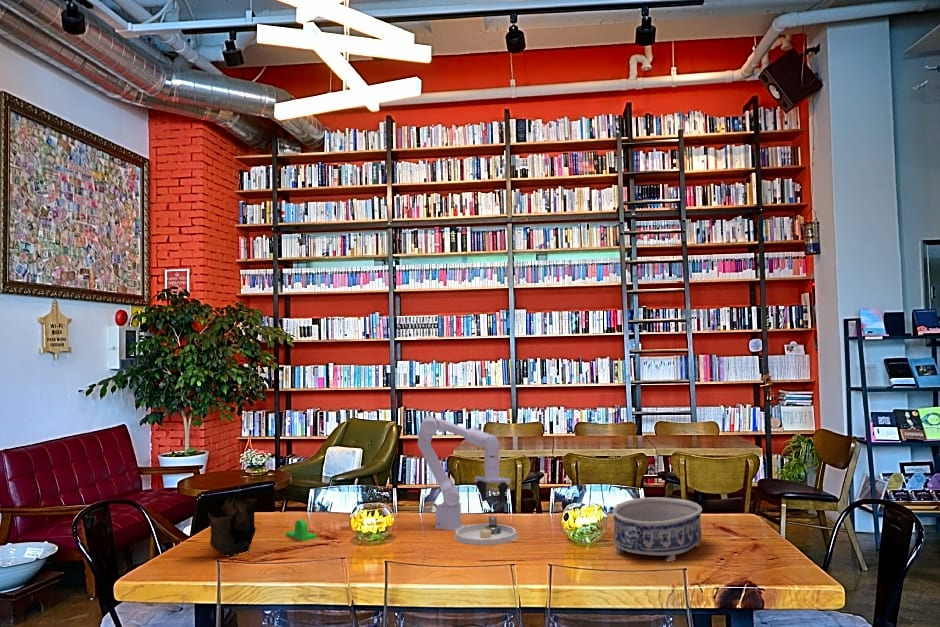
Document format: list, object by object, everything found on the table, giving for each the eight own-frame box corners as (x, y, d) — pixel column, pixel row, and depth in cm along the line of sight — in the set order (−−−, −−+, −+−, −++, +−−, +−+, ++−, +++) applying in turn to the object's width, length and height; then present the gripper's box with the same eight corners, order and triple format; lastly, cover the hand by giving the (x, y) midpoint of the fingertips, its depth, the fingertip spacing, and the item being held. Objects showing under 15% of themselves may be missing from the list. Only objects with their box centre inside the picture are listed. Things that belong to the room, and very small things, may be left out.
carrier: (443, 543, 260) (442, 534, 260) (472, 527, 280) (471, 519, 280) (501, 550, 249) (501, 541, 249) (527, 533, 270) (526, 525, 270)
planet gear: (482, 533, 269) (482, 518, 269) (489, 529, 274) (488, 514, 274) (496, 535, 266) (496, 520, 266) (503, 531, 271) (503, 516, 272)
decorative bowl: (648, 531, 270) (646, 491, 270) (719, 542, 254) (718, 499, 254) (594, 561, 236) (593, 514, 237) (673, 575, 220) (671, 525, 220)
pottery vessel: (237, 543, 265) (236, 489, 266) (265, 544, 263) (264, 489, 264) (200, 565, 240) (200, 504, 241) (231, 566, 238) (230, 505, 239)
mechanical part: (317, 540, 268) (316, 518, 268) (302, 543, 264) (302, 521, 264) (300, 534, 277) (299, 513, 277) (286, 537, 272) (285, 516, 273)
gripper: (470, 467, 282) (471, 502, 282) (504, 469, 276) (505, 505, 275) (478, 464, 289) (479, 498, 288) (512, 466, 282) (512, 501, 282)
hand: (492, 501), depth 282 cm, fingers open, 7 cm apart
